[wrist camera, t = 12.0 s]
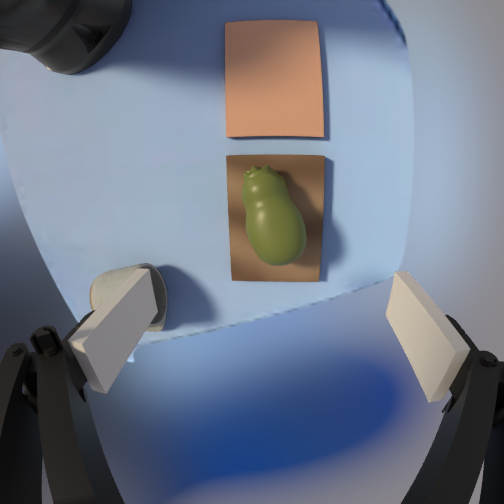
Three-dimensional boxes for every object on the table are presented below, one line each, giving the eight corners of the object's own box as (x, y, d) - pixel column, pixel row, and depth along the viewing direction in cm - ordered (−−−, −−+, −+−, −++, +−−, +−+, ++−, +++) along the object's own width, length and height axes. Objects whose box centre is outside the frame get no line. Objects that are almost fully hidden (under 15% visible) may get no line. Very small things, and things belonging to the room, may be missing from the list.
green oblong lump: (257, 279, 25) (221, 174, 24) (263, 265, 30) (234, 177, 29) (316, 261, 24) (281, 153, 23) (312, 250, 29) (283, 160, 28)
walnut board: (228, 155, 28) (226, 155, 27) (322, 155, 27) (324, 155, 26) (233, 276, 33) (231, 280, 32) (317, 277, 32) (318, 281, 31)
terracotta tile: (226, 25, 23) (225, 22, 22) (316, 24, 22) (317, 21, 21) (227, 137, 27) (226, 137, 27) (322, 137, 27) (323, 137, 26)
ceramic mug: (106, 264, 34) (75, 290, 27) (154, 252, 33) (125, 281, 26) (136, 327, 38) (113, 360, 31) (182, 322, 37) (164, 359, 29)
